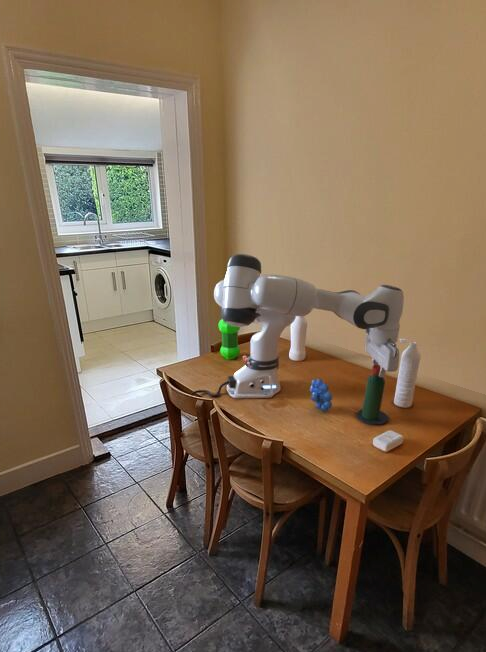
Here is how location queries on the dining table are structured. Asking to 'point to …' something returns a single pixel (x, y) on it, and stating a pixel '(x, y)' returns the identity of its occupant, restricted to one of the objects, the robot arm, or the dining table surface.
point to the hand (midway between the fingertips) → (378, 373)
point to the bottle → (298, 339)
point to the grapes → (321, 395)
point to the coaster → (380, 421)
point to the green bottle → (373, 397)
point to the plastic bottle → (229, 340)
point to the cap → (375, 369)
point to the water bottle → (407, 375)
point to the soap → (388, 440)
